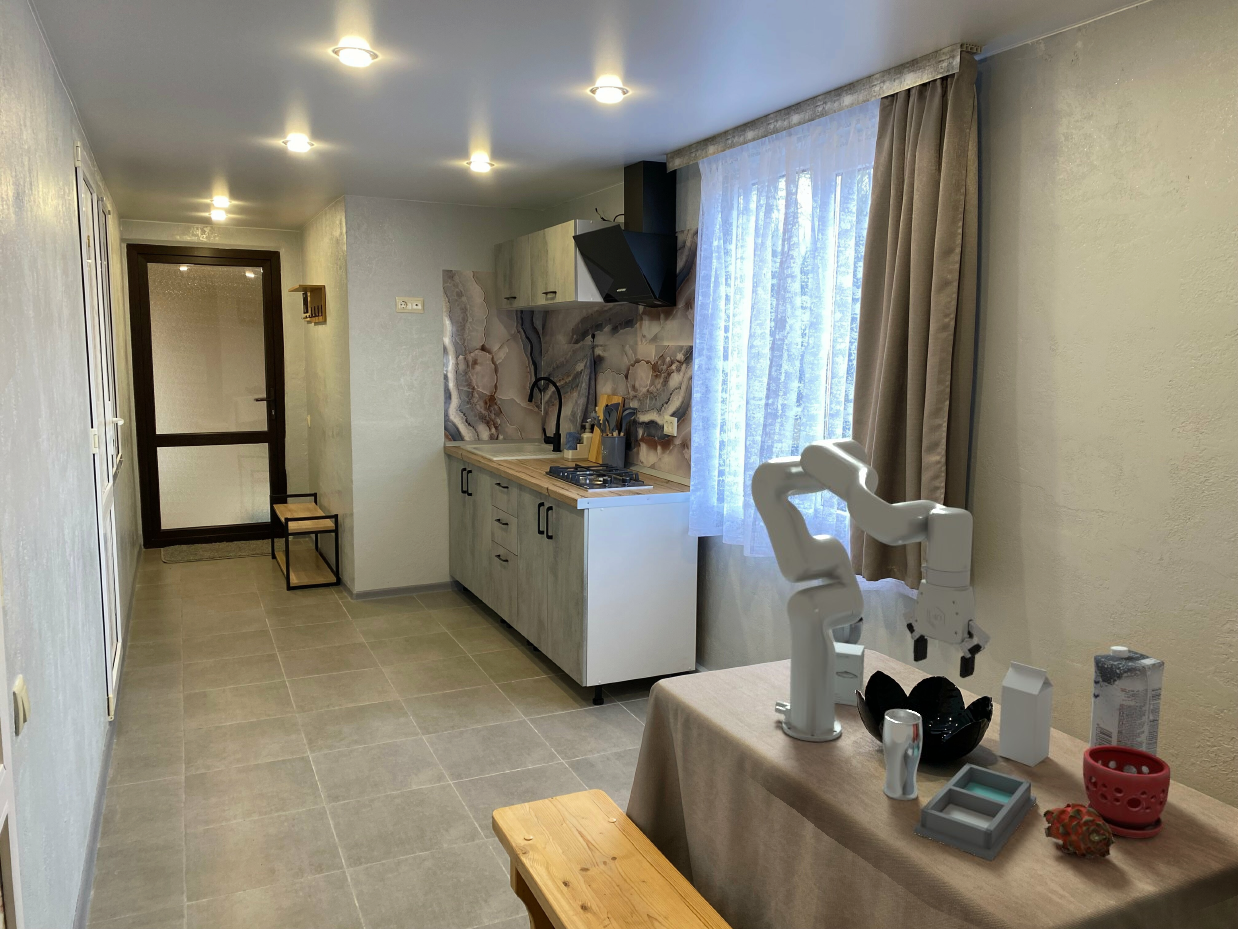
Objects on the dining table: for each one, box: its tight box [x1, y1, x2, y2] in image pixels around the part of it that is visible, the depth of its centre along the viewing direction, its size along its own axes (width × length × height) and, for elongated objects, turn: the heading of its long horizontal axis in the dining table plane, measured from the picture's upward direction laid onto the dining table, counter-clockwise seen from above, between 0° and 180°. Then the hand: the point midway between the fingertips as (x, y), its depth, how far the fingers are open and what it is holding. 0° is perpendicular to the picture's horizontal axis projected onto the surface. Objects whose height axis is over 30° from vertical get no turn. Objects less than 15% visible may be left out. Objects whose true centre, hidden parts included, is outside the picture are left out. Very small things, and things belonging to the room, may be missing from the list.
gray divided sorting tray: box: [913, 762, 1037, 862], centre depth 158 cm, size 13×24×4 cm, turn 140°
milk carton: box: [997, 660, 1054, 767], centre depth 181 cm, size 7×7×19 cm
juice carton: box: [1088, 645, 1165, 780], centre depth 166 cm, size 9×10×27 cm
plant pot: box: [1082, 745, 1171, 839], centre depth 156 cm, size 13×13×12 cm
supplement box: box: [833, 641, 866, 707], centre depth 211 cm, size 7×7×13 cm
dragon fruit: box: [1041, 801, 1116, 859], centre depth 148 cm, size 8×8×12 cm
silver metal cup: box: [882, 708, 923, 801], centre depth 167 cm, size 7×7×15 cm
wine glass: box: [830, 616, 864, 645], centre depth 225 cm, size 8×8×15 cm
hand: (942, 668), depth 164 cm, fingers open, 9 cm apart
